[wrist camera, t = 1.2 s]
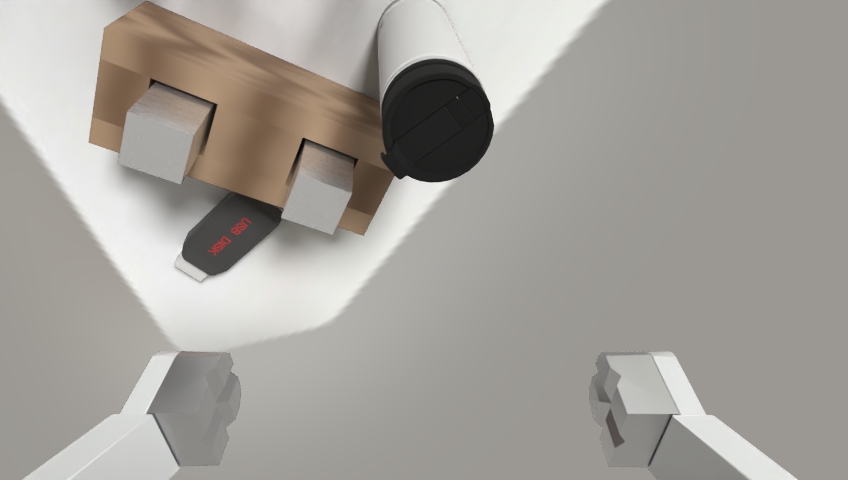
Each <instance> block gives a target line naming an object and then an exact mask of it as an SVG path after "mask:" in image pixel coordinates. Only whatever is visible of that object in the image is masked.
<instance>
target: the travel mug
mask: <svg viewBox="0 0 848 480" xmlns="http://www.w3.org/2000/svg"><path fill="white" fill-rule="evenodd" d="M378 62H379V89H380V115H381V120H382V137H383V143H384V147H385V150H386V153H387V154H384V153H383V152H382V153H381V159H382V161H383V162H384V164H385V165H386V166H387V167H388V169H389V170H390V171H391V172H392V173H393V174H394V175H395V176H396V177H397V178H398V179H402V178H404V177H405V176H409V177H411V178H413V179H416V180H419V181H424V182H443V181H448V180H451V179H454V178H456V177H459V176H461V175H462V174H464V173H466V172H468V171H469V170H470V169H471V168H473V167H474V166H475V165H476V164H477V163H478V162H479V161H480V159H481V158H482V157H483V156H484V154H485V152H486V151H487V149H488V147H489V145H490V142H491V139H492V136H493V130H494V123H493V118H492V113H491V110H490V102H489V100H488V98H487V96H486V94H485V90H484V88H483V86H482V83H481V81H480V79H479V77H478V75H477V73H476V71H475V69H474V67H473V65H472V63H471V61H470V59H469V57H468V55H467V53H466V51H465V49H464V47H463V45H462V43H461V41H460V39H459V37H458V35H457V33H456V31H455V29H454V27H453V25H452V23H451V21H450V19H449V17H448V15H447V13H446V11H445V10H444V8H443V7H442V6H441V5H440V4H439V3H438V2H437V1H435V0H395V1H394V2H392V3H391V4H390V5H389V6H388V7H387V8H386V10H385V11H384V13H383V14H382V16H381V19H380V21H379V25H378Z"/></svg>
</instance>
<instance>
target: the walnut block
mask: <svg viewBox="0 0 848 480" xmlns="http://www.w3.org/2000/svg"><path fill="white" fill-rule="evenodd" d="M156 81H159V82H162V83H164V84H167V85H170V86H172V87H175V88H177V89H180V90H182V91H185V92H188V93H190V94H193V95H195V96H198V97H200V98H203V99H206V100H208V101H211V102H213V103H216V104H218V105H217V109H216V111H215V112H214V116H213V120H212V123H211V127H210V131H209V134H208V138H207V141H206V143H205V144H204V146H203V148H202V150H201V151H200V153H199V155H198V156H197V158H196V160H195V162H194V163H193V165H192V167H191V168H190V170H189V172H188V173H187V175H186V176H189V177H192V178H195V179H198V180H201V181H204V182H207V183H210V184H213V185H216V186H219V187H222V188H225V189H228V190H230V191H233V192H236V193H239V194H242V195H245V196H248V197H251V198H254V199H257V200H260V201H263V202H266V203H269V204H272V205H275V206H278V207H281V208H283V207H284V203H285V199H286V195H287V191H288V187H289V183H290V179H291V175H292V171H293V169H294V166H295V164H296V161H297V158H298V156H299V153H300V151H301V148H302V145H303V144H301V141H302V139H303V138H306V139H308V140H311V141H314V142H316V143H319V144H321V145H324V146H326V147H329V148H332V149H334V150H337V151H339V152H342V153H344V154H347V155H350V156H352V157H354V170H353V188H352V195H351V197H350V199H349V201H348V203H347V206H346V208H345V210H344V212H343V214H342V216H341V218H340V220H339V223H338V225H337V227H340V228H343V229H346V230H349V231H352V232H355V233H357V234H360V235H363V236H364V234H365V232H366V230H367V228H368V226H369V224H370V222H371V220H372V218H373V216H374V215H375V213H376V211H377V209H378V207H379V205H380V203H381V201H382V199H383V197H384V195H385V193H386V191H387V189H388V187H389V185H390V183H391V181H392V179H393V177H394V176H395V175H394V174H393V173H392V172H391V171H390V170H389V169H388V167H387V166H386V165H385V164H384V162H383V161H382V159H381V153H382V152H383V153H384V154H387V153H386V150H385V147H384V143H383V137H382V120H381V115H380V102H379V101H377V100H374V99H372V98H370V97H367V96H365V95H363V94H361V93H358V92H356V91H354V90H351V89H349V88H347V87H344V86H342V85H340V84H337V83H335V82H333V81H331V80H328V79H326V78H324V77H321V76H319V75H317V74H314V73H312V72H310V71H307V70H305V69H303V68H301V67H298V66H296V65H294V64H291V63H289V62H287V61H284V60H282V59H280V58H277V57H275V56H273V55H271V54H268V53H266V52H264V51H261V50H259V49H257V48H254V47H252V46H250V45H247V44H245V43H243V42H241V41H238V40H236V39H234V38H231V37H229V36H227V35H224V34H222V33H220V32H217V31H215V30H213V29H211V28H208V27H206V26H204V25H201V24H199V23H197V22H194V21H192V20H190V19H188V18H185V17H183V16H181V15H178V14H176V13H174V12H171V11H169V10H167V9H164V8H162V7H160V6H158V5H155V4H153V3H151V2H148V1H146V2H144V3H143V4H141V5H139V6H138V7H136V8H135V9H133V10H131V11H130V12H128V13H127V14H125V15H124V16H122V17H120V18H119V19H117V20H116V21H114V22H112V23H111V24H109V25H108V26H106V27H104V33H103V40H102V48H101V55H100V63H99V70H98V77H97V85H96V92H95V99H94V107H93V114H92V121H91V129H90V136H89V143H92V144H95V145H98V146H101V147H103V148H106V149H109V150H112V151H115V152H118V153H120V149H121V144H122V138H123V132H124V126H125V121H126V115H127V111H128V110H129V109H130V108H131V107H132V106H133V105H134V104H135V103H136V102H137V101H138V100H139V99H140V98H141V97H142V96H143V95H144V94H145V93H146V91H147V90H148V89H149V88H150V87H151V86H152V85H153V84H154V83H155V82H156Z"/></svg>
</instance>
